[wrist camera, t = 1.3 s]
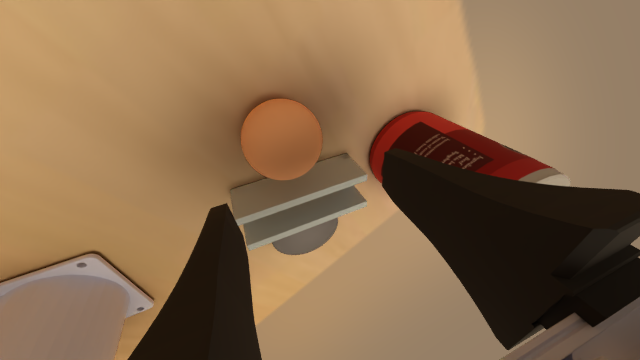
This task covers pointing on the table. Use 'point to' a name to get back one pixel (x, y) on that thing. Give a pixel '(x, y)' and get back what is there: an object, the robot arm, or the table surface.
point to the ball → (281, 139)
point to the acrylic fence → (298, 200)
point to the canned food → (458, 149)
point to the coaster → (307, 239)
